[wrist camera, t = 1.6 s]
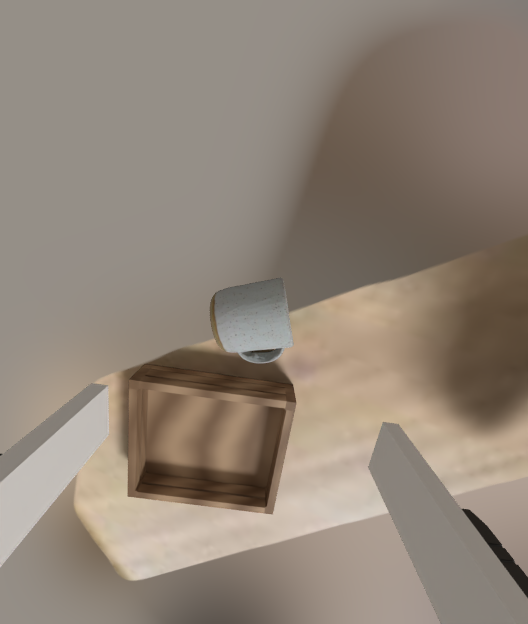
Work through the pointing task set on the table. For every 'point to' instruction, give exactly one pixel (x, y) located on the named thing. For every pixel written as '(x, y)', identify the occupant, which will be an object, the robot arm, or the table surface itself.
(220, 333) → the ceramic mug
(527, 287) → the table surface
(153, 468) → the crate
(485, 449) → the table surface
